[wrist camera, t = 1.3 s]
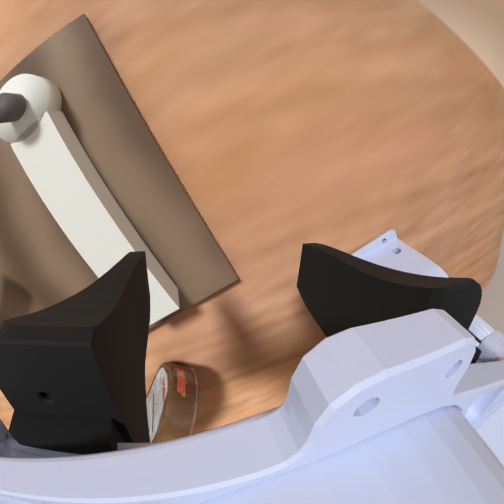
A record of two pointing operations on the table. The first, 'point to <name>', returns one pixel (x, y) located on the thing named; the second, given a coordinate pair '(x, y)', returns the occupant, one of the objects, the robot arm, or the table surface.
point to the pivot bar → (77, 188)
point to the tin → (172, 403)
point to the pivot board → (113, 175)
